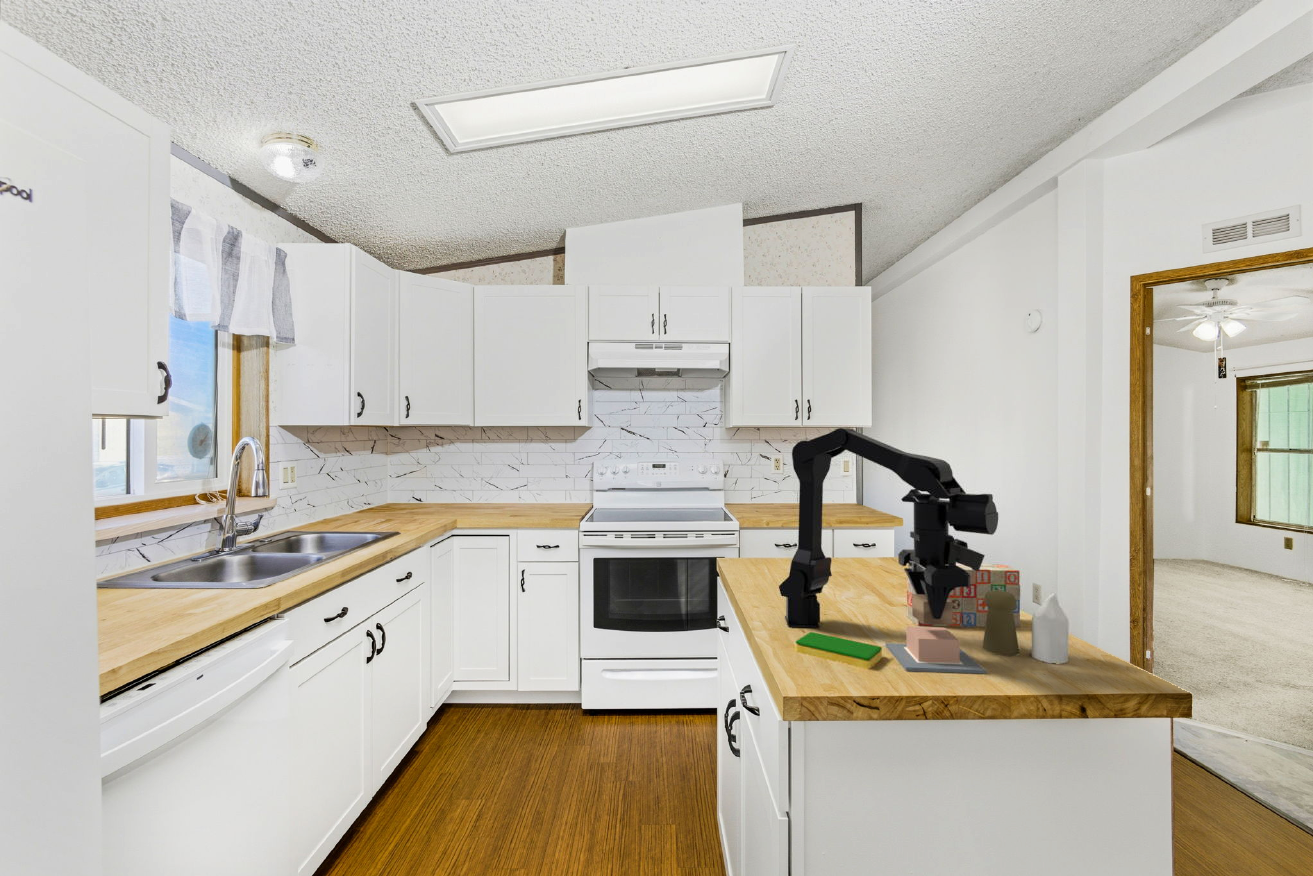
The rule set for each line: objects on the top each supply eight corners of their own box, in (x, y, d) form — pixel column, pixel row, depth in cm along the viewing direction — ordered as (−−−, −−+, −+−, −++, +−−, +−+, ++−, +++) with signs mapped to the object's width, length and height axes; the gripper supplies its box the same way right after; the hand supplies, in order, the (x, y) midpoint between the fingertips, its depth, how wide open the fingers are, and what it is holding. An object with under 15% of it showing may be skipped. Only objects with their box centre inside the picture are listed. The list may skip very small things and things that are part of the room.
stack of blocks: (918, 626, 123) (917, 569, 123) (906, 617, 129) (906, 562, 129) (1021, 627, 122) (1020, 569, 122) (1004, 618, 128) (1003, 563, 128)
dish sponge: (869, 671, 99) (869, 657, 99) (795, 654, 108) (794, 641, 108) (882, 659, 105) (882, 646, 105) (810, 643, 114) (810, 631, 114)
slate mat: (905, 670, 99) (905, 666, 99) (885, 646, 110) (885, 642, 110) (985, 673, 97) (985, 669, 97) (956, 648, 109) (956, 644, 109)
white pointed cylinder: (1029, 586, 108) (1065, 590, 105) (1030, 650, 108) (1066, 655, 105) (1032, 594, 103) (1070, 598, 100) (1033, 661, 103) (1071, 666, 100)
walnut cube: (923, 624, 102) (923, 601, 102) (912, 615, 107) (912, 594, 107) (952, 624, 101) (952, 601, 101) (939, 616, 106) (939, 594, 106)
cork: (1015, 646, 110) (1014, 588, 110) (1023, 657, 104) (1022, 596, 105) (979, 642, 112) (978, 586, 112) (986, 653, 106) (985, 594, 106)
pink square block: (918, 661, 101) (918, 638, 101) (906, 647, 108) (906, 626, 108) (959, 663, 100) (959, 640, 100) (944, 649, 107) (944, 627, 107)
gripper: (1003, 537, 94) (1004, 632, 94) (956, 521, 113) (956, 601, 112) (932, 536, 95) (933, 630, 95) (897, 521, 114) (897, 599, 114)
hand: (931, 614), depth 104 cm, fingers closed on walnut cube, 5 cm apart
